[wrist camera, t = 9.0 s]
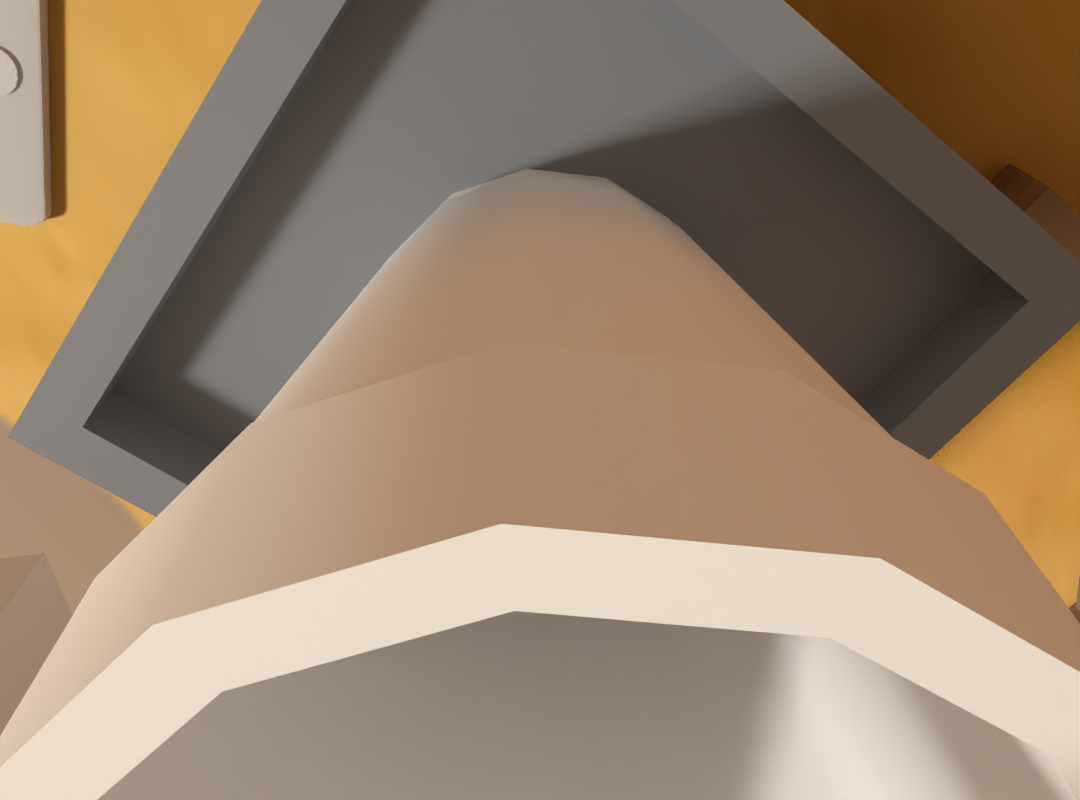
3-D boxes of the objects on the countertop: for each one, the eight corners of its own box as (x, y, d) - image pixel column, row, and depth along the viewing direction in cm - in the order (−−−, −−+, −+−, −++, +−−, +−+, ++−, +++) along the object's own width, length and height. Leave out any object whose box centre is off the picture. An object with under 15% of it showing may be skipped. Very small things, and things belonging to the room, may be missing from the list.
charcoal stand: (949, 172, 24) (1112, 290, 17) (586, 554, 29) (604, 758, 22) (467, -248, 20) (438, -305, 13) (144, 285, 25) (7, 437, 18)
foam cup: (214, 396, 20) (-220, 1139, 8) (452, -36, 16) (275, 211, 5) (612, 598, 22) (706, 1384, 11) (895, 264, 19) (1497, 910, 7)
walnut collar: (1321, 443, 28) (1376, 483, 26) (964, 721, 32) (989, 771, 31) (1009, 163, 24) (1048, 187, 22) (657, 525, 29) (666, 568, 27)
